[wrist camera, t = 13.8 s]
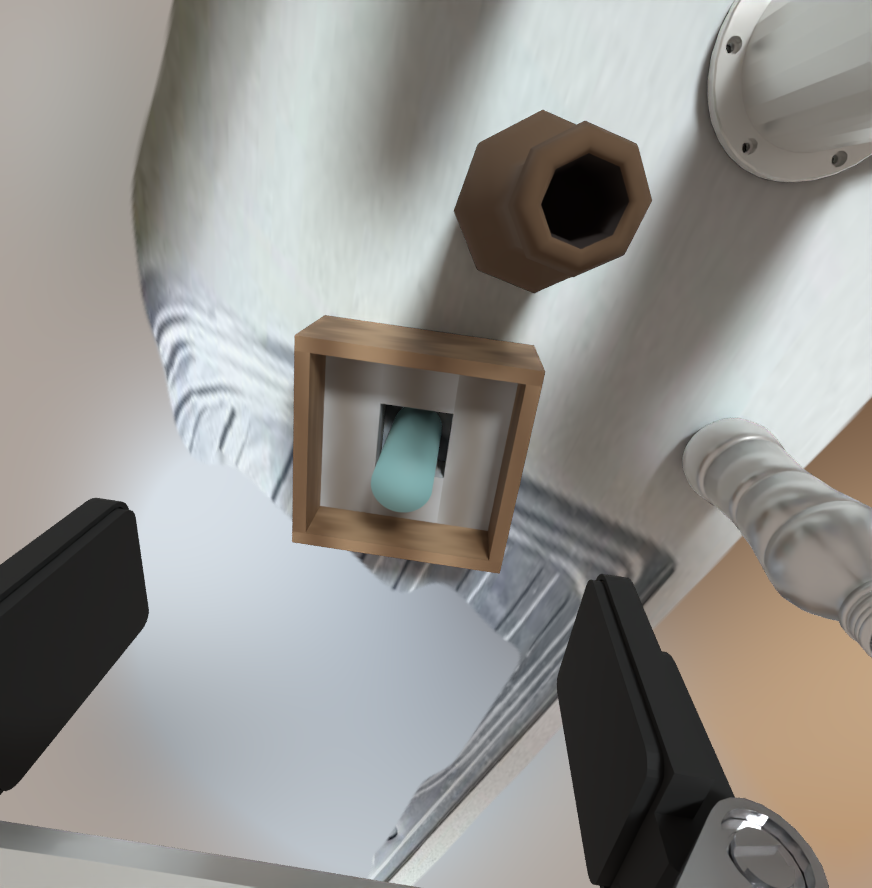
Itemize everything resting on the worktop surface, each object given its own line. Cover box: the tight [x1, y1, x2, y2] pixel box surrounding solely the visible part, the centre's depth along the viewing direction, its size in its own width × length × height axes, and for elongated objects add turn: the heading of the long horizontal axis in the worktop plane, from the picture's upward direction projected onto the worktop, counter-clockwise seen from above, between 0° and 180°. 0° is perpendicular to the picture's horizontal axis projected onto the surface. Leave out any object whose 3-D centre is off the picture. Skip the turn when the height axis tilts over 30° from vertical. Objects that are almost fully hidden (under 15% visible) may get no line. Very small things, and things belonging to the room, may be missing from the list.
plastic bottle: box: [682, 418, 872, 657], centre depth 32 cm, size 6×7×20 cm
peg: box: [371, 407, 442, 512], centre depth 37 cm, size 4×4×10 cm
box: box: [292, 315, 545, 573], centre depth 39 cm, size 16×16×7 cm
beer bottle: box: [454, 110, 652, 293], centre depth 24 cm, size 8×8×24 cm
